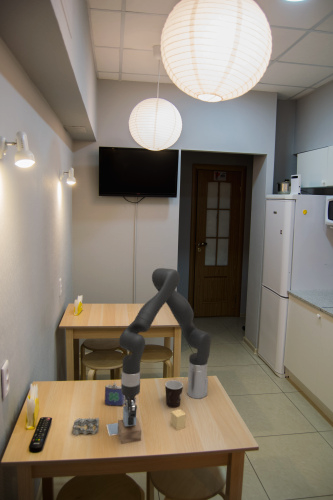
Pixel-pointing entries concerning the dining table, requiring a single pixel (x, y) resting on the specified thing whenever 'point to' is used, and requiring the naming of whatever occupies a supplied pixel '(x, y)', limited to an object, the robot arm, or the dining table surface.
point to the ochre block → (178, 419)
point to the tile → (112, 429)
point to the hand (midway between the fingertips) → (129, 420)
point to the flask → (113, 395)
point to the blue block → (125, 417)
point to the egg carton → (82, 423)
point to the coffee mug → (173, 393)
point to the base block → (129, 432)
